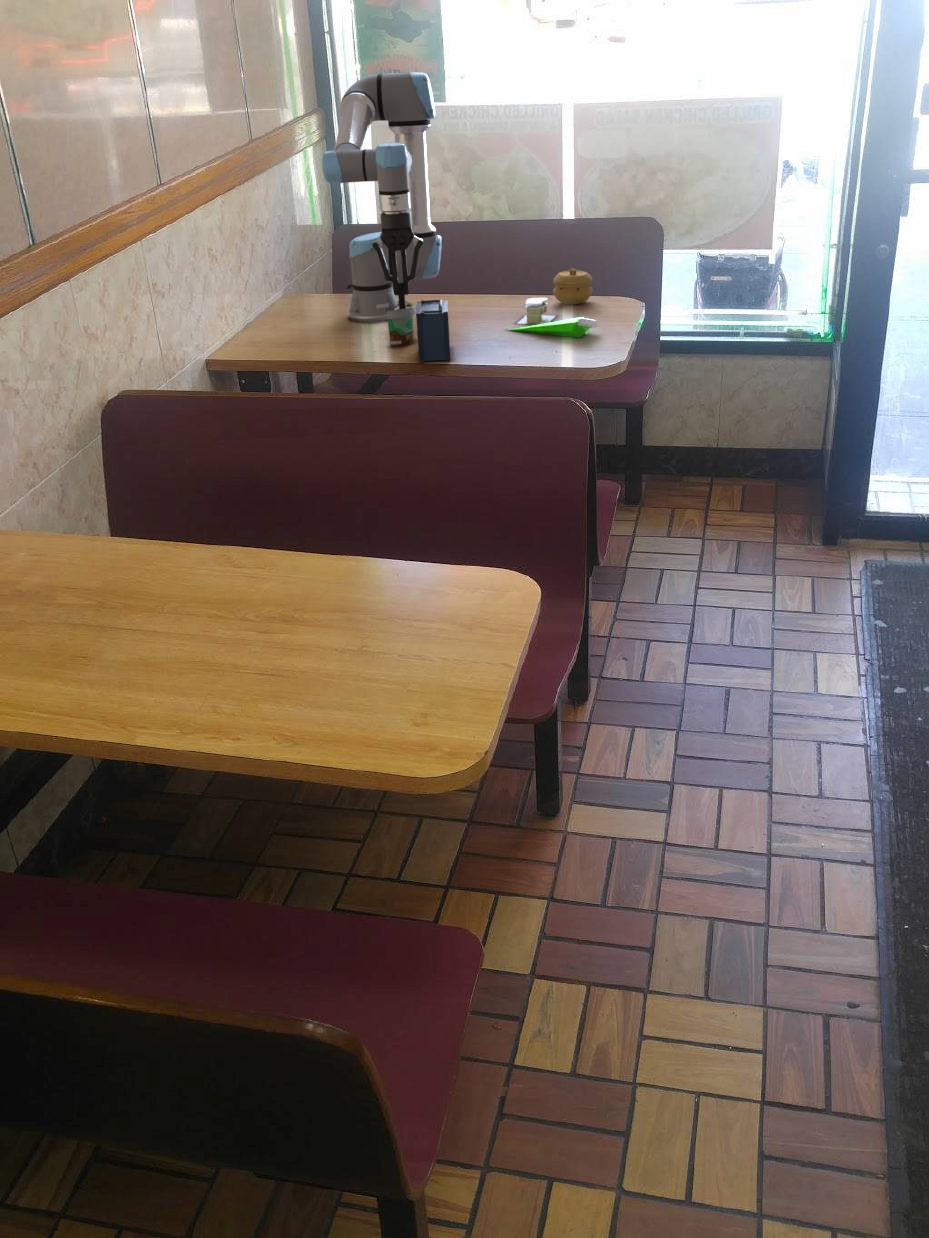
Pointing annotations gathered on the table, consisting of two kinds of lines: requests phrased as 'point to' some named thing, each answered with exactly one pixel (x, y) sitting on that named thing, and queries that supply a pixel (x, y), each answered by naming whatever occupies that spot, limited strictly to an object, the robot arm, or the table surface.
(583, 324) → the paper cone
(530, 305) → the stacked layers on plate
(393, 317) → the food container
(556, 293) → the pot
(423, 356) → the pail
